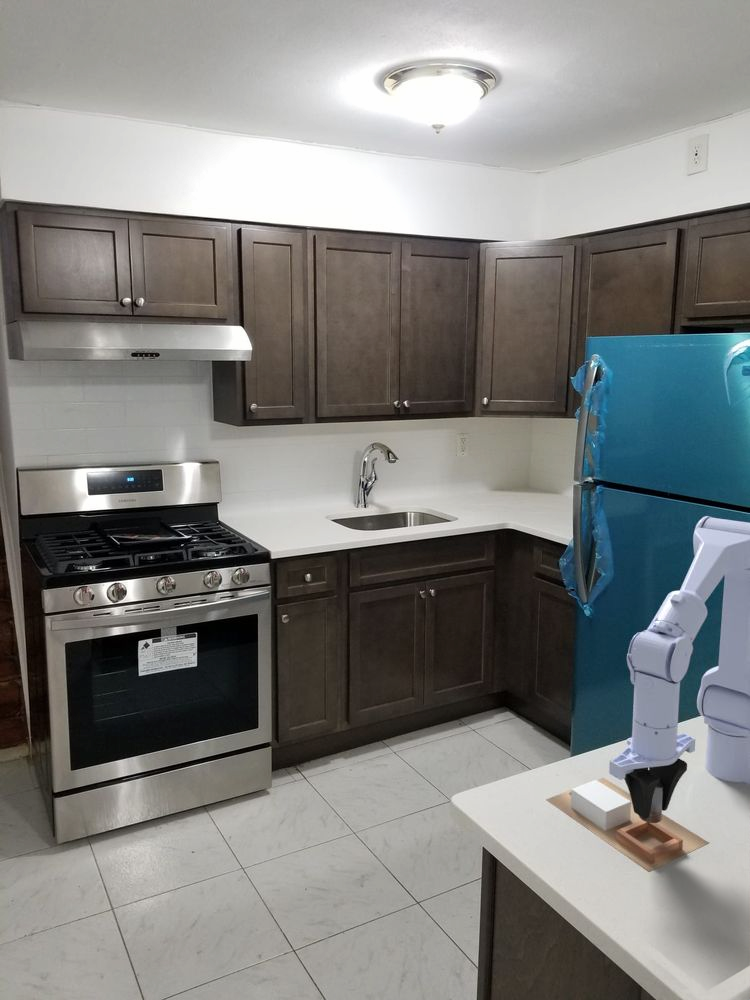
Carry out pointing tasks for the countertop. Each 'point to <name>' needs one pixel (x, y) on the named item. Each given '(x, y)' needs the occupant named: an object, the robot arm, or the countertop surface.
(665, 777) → the robot arm
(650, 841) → the board
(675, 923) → the countertop surface
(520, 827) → the countertop surface
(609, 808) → the plain white cuboid
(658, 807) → the grey metal cylinder
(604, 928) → the countertop surface
